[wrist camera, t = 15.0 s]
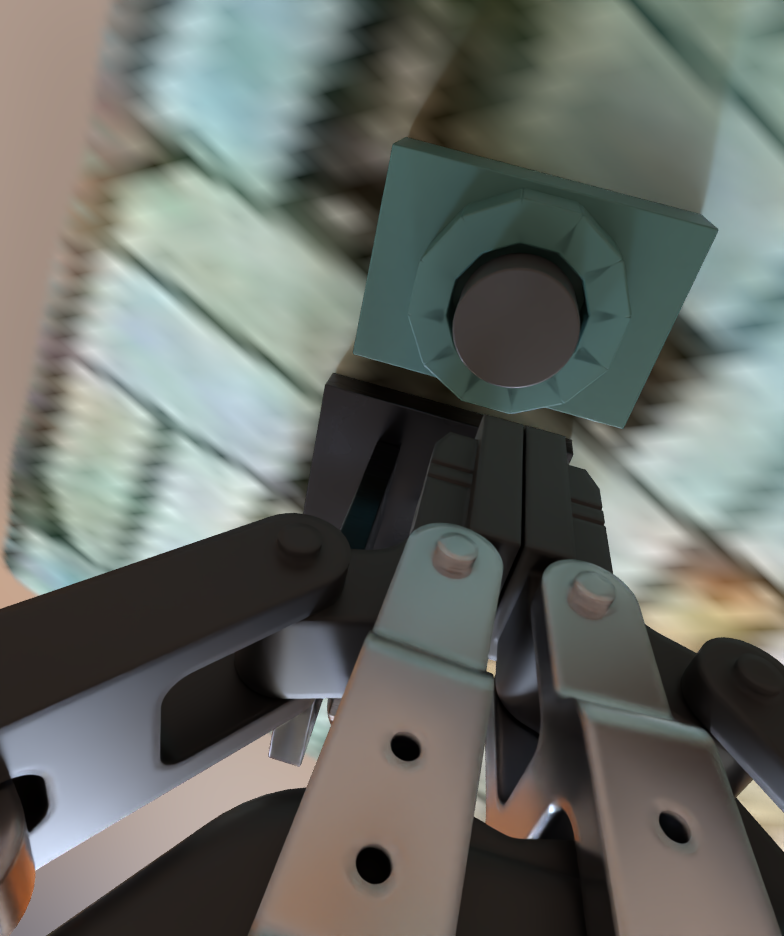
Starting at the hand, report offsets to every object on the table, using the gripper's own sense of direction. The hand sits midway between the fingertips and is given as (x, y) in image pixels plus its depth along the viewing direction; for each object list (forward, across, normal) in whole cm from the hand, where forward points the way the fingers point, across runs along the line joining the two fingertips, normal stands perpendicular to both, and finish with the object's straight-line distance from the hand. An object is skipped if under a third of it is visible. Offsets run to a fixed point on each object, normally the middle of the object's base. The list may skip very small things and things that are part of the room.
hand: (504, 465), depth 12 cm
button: (+9, 0, 0) cm, 9 cm away
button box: (+13, 0, 0) cm, 13 cm away
